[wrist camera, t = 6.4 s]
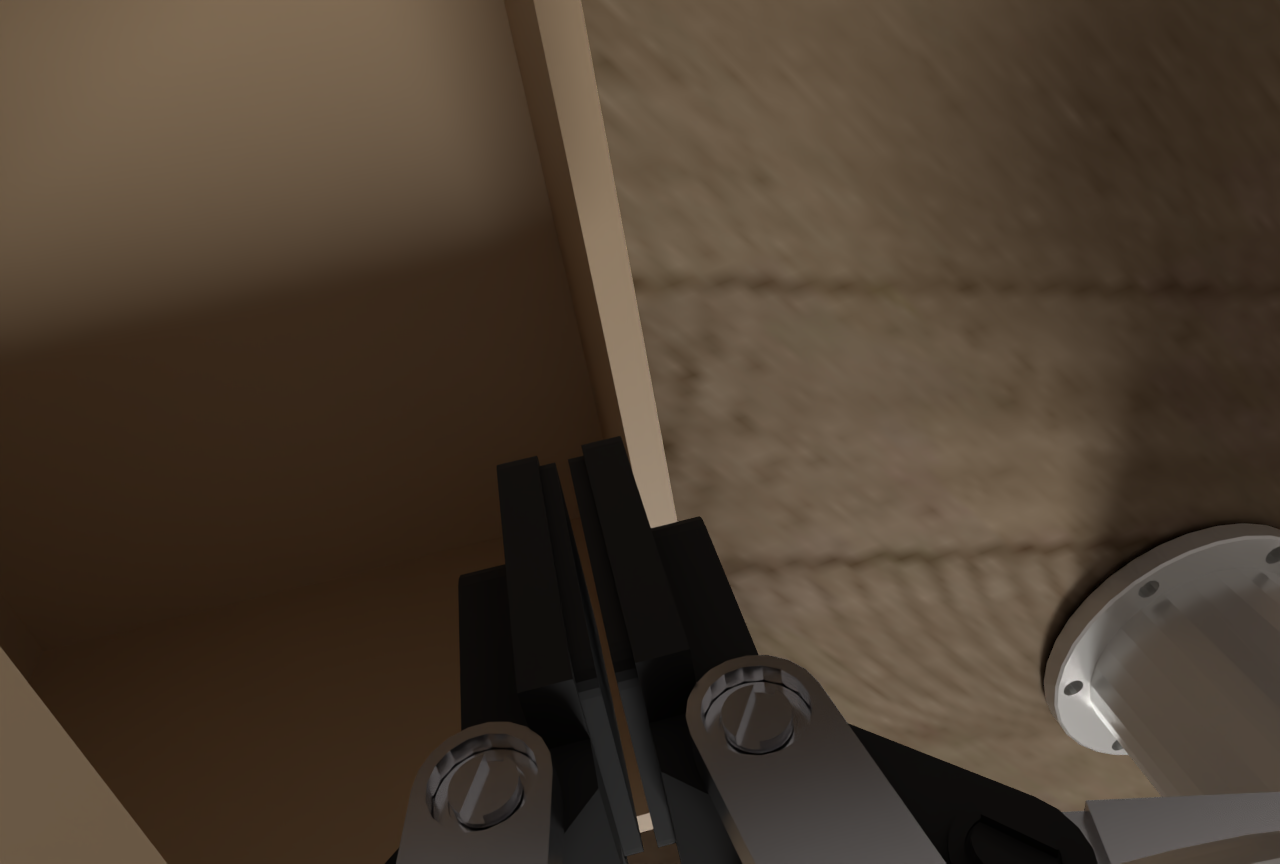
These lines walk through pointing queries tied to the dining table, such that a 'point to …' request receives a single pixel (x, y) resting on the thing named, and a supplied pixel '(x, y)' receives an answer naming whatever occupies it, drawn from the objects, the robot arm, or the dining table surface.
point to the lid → (55, 791)
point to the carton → (292, 385)
